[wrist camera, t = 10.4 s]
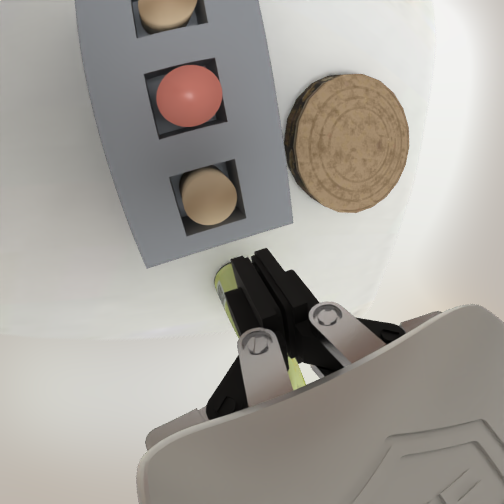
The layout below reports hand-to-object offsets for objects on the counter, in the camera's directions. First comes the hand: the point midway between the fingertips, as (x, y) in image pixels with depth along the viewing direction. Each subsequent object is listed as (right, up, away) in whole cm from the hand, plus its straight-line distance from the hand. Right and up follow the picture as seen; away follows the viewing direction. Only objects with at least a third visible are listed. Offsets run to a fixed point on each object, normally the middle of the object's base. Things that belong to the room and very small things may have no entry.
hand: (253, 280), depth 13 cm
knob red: (-5, +14, +7) cm, 16 cm away
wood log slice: (+11, +14, +17) cm, 25 cm away
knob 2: (-5, +8, +13) cm, 16 cm away
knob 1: (-8, +22, +4) cm, 23 cm away
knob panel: (-6, +15, +10) cm, 19 cm away
